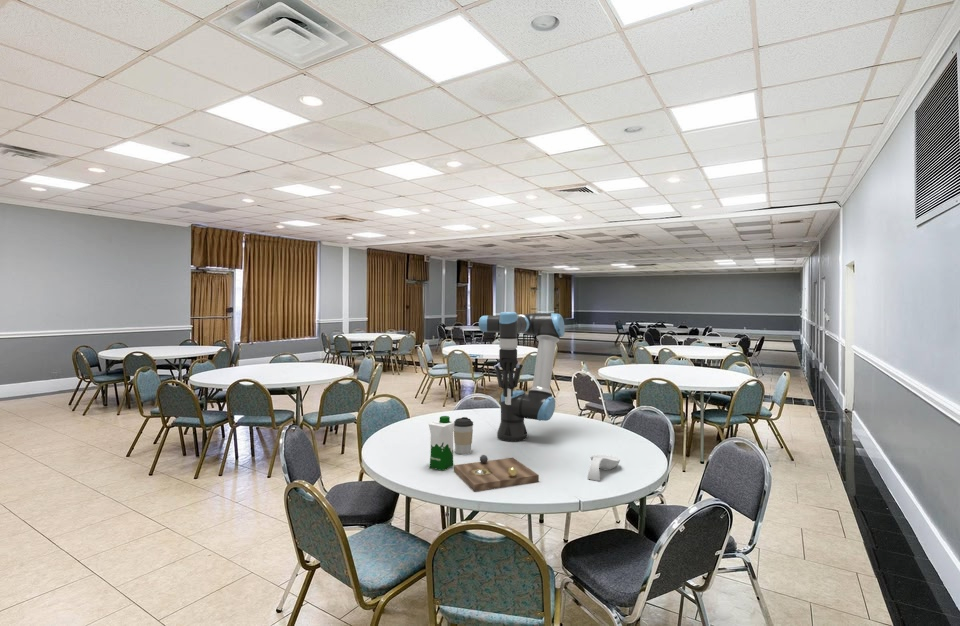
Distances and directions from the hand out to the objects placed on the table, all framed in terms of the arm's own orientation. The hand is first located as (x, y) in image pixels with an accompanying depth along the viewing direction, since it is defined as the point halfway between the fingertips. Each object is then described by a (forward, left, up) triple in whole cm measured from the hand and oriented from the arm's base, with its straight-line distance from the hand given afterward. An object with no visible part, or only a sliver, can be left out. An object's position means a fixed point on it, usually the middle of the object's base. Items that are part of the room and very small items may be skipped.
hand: (507, 404), depth 202 cm
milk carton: (+28, -4, -25) cm, 37 cm away
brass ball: (+9, +23, -20) cm, 32 cm away
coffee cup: (+13, -19, -25) cm, 34 cm away
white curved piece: (-30, +24, -25) cm, 46 cm away
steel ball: (+18, +14, -23) cm, 32 cm away
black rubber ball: (+13, +5, -20) cm, 25 cm away
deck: (+12, +14, -24) cm, 31 cm away
